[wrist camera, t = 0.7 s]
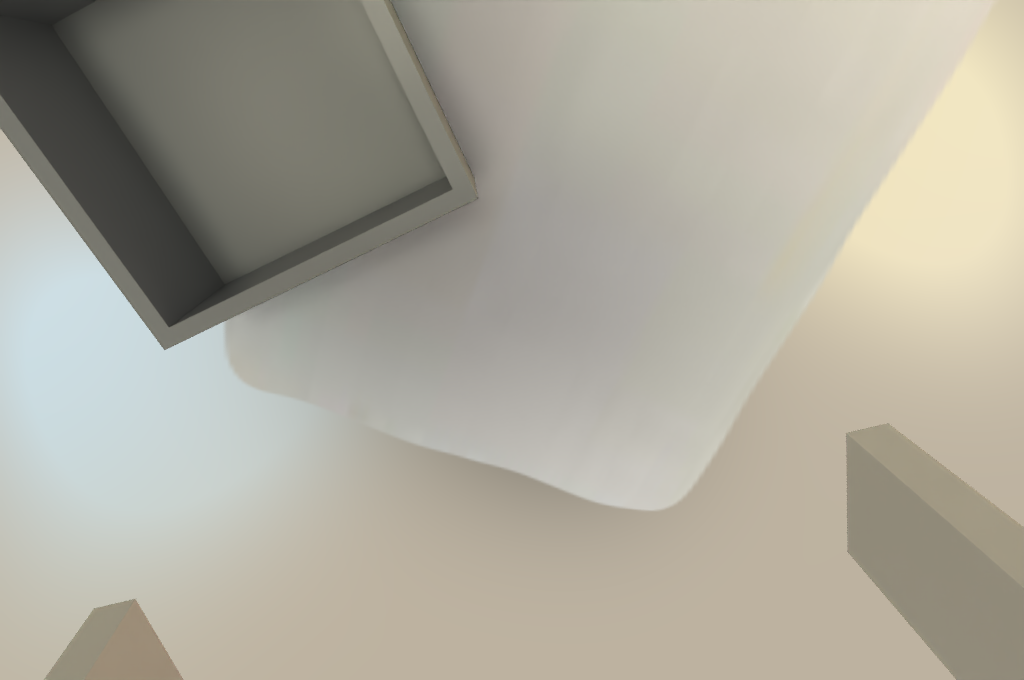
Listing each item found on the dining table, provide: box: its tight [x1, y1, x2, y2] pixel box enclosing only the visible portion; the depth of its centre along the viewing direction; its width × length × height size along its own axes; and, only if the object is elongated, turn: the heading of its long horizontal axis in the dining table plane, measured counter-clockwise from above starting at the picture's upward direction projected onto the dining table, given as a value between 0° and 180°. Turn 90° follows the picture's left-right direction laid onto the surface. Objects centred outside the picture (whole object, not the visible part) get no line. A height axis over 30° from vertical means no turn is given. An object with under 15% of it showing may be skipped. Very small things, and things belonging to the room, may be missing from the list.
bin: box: [0, 0, 478, 350], centre depth 28 cm, size 16×16×8 cm
